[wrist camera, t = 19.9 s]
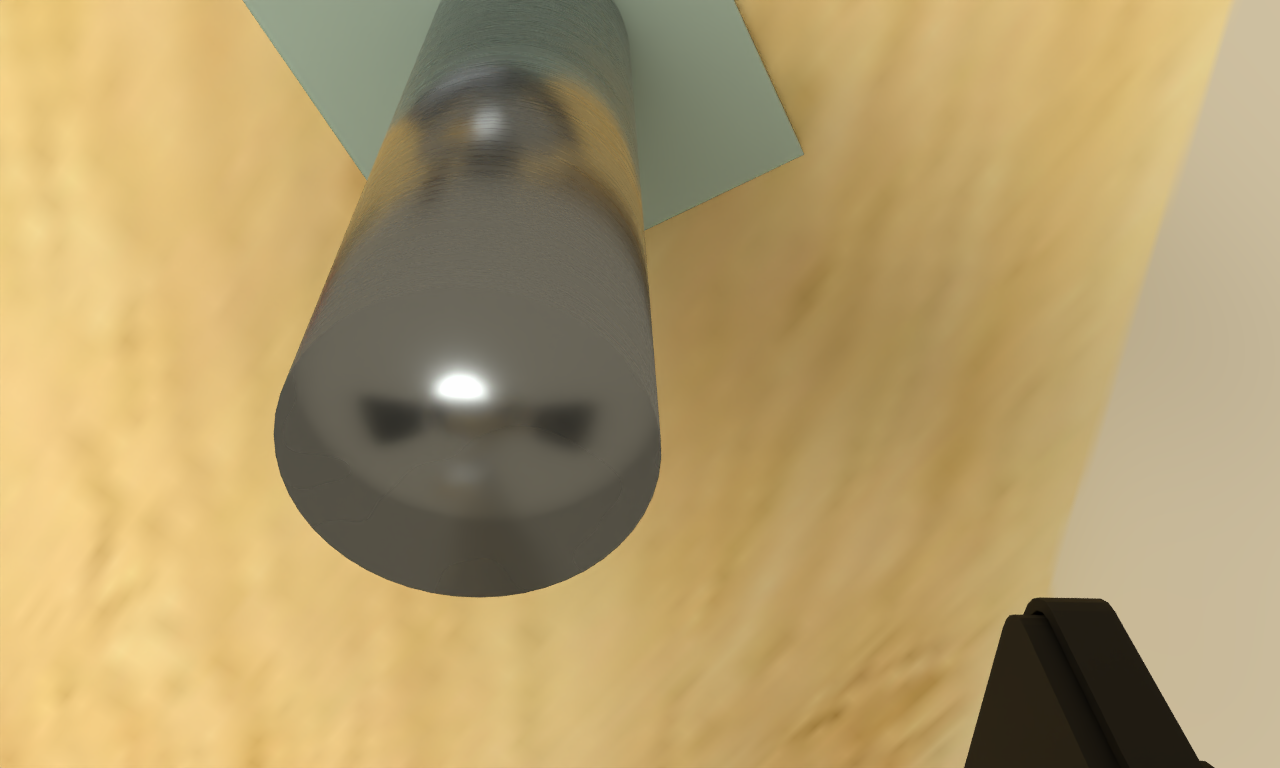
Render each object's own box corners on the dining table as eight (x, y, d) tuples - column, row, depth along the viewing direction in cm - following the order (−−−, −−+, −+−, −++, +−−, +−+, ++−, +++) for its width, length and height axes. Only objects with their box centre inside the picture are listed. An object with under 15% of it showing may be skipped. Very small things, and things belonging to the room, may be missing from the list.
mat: (799, 142, 23) (804, 154, 22) (464, 303, 24) (461, 317, 24) (618, -253, 19) (619, -249, 18) (236, -30, 21) (227, -22, 20)
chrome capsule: (645, -30, 20) (693, 315, 10) (614, 163, 22) (629, 612, 12) (436, -64, 20) (272, 261, 10) (423, 136, 22) (274, 578, 12)
